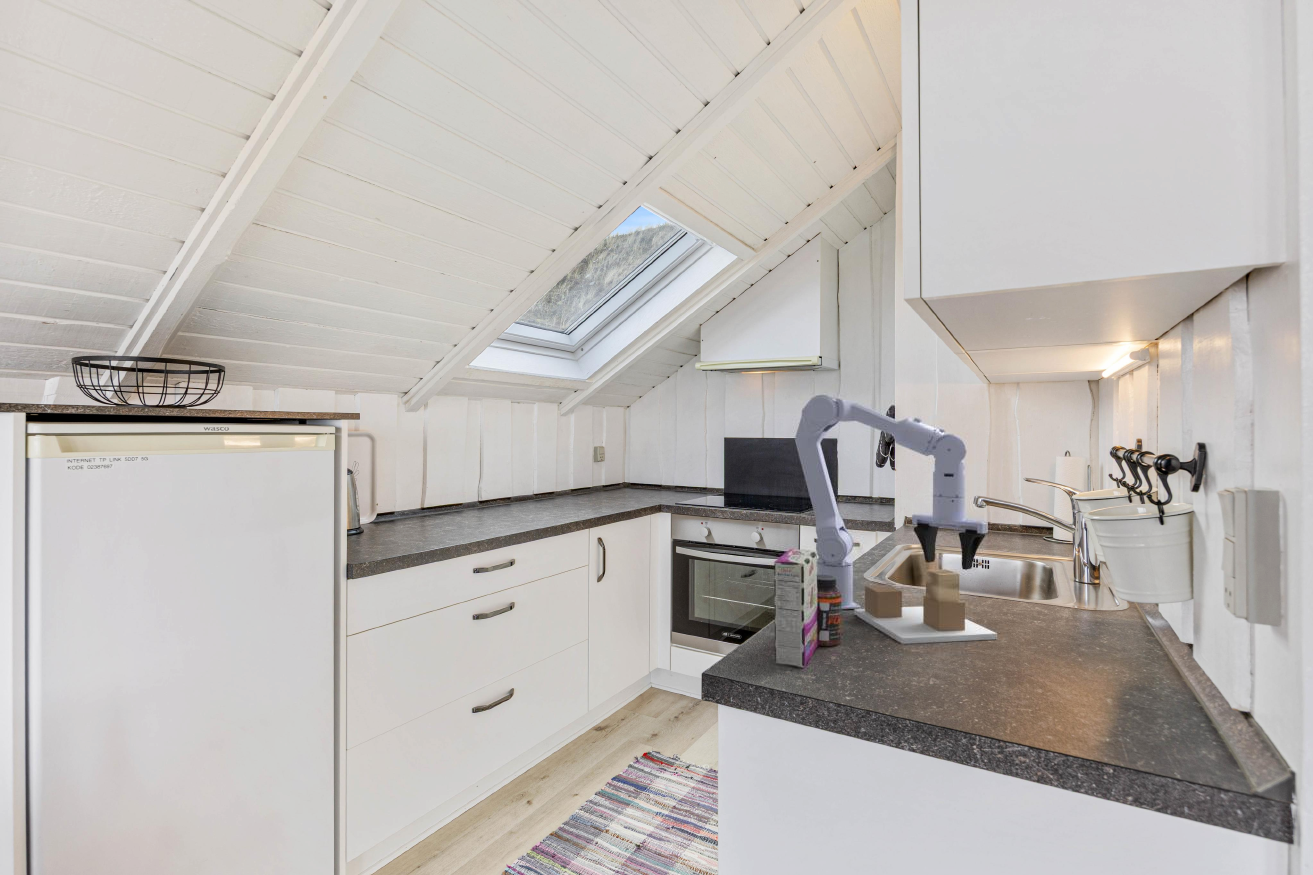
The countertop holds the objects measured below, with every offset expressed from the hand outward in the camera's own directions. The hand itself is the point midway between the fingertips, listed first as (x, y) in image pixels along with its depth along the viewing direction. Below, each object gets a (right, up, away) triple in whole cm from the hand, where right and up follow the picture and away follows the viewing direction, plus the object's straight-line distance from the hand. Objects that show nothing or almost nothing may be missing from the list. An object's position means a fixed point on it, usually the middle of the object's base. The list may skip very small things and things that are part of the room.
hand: (947, 565), depth 125 cm
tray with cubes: (-7, -10, -5) cm, 14 cm away
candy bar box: (-34, -11, -21) cm, 42 cm away
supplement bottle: (-28, -11, -14) cm, 33 cm away
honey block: (-5, -4, -9) cm, 11 cm away
